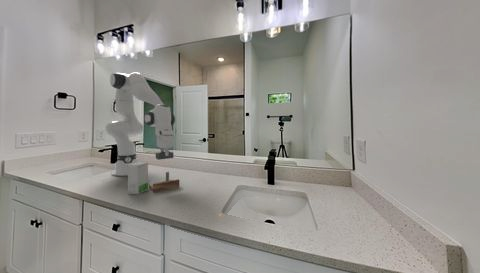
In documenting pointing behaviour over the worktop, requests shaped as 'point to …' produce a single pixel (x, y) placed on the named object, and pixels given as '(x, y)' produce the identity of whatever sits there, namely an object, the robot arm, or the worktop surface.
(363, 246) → the worktop surface
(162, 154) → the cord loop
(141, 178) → the skincare box
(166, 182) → the hook shelf
